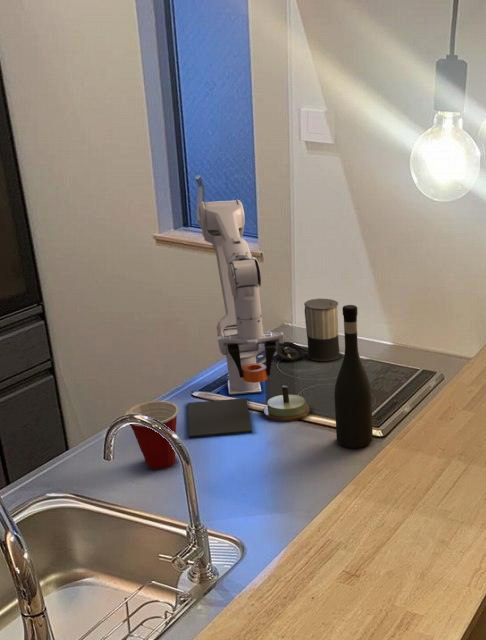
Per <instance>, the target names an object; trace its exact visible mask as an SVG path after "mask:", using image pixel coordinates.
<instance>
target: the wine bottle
mask: <svg viewBox="0 0 486 640" xmlns="http://www.w3.org/2000/svg"><path fill="white" fill-rule="evenodd" d="M358 314H359V313H358V307H357V306H356V305H354V304H345V305H343V306H342V316H343V329H344V330H343V331H344V332H343V333H344V356H343V359H342V363H341V366H340V369H339V371H338V374H337V377H336V381H335V386H334V393H333V394H334V414H335V415H334V416H335V432H336V433H335V434H336V435H335V436H336V441H337V442H338V444H339V445H341V446H343V447H346V448H351V449H352V448H353V449H354V448H355V449H356V448H362V447H365V446H368V445H369V444H370V443H371V442H372V441H373V436H374V434H373V433H374V432H373V431H374V430H373V429H374V428H373V396H372V395H373V392H372V386H371V382H370V379H369V376H368V374H367V371H366V370H365V367H364V365H363V362H362V359H361V357H360V352H359V346H358Z"/></svg>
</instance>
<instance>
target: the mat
mask: <svg viewBox="0 0 486 640" xmlns="http://www.w3.org/2000/svg"><path fill="white" fill-rule="evenodd" d="M187 410H188V411H187V415H188V417H187V418H188V438H189V439H196V438H208V437H218V436H231V435H242V434H243V435H244V434H251V433H253V429H252V424H251V418H250V417H251V416H250V412H249V404H248V400H247V397H243V398H231V399H217V400H206V401H205V400H204V401H194V402H193V401H191V402H187Z"/></svg>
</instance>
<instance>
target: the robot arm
mask: <svg viewBox="0 0 486 640" xmlns="http://www.w3.org/2000/svg"><path fill="white" fill-rule="evenodd" d="M198 216H199V222H200V227H201V233H202V236H203V240H204V241H205V242H206V243H207V242H208V243H209V244H211V245H212V247H213V249H214V252H215V257H216V263H217V268H218V275H219V280H220V288H221V292H222V299H223V305H224V310H225V315H223V317H221V319H219V320H218V322H217V325H216V331H217V334H216V335H217V343H218V348H219V351H220V353H221V354H222V355H223V356H225V358H226V366H227V374H228V380H227V388H228V395H243V394H245V395H246V394H257V393H262V387H261V382H256V383H251V382H246V381H244V380H243V372H242V367H243V366H245V365H247V364H254V363H255V364H256V363H257V356H258V352H260V351H261V349H262V345H263V347H264V354H265V356H264V357H265V365H266V367H267V376H271V370H272V369H271V367H272V363H273V359H274V357H275V354H276V353H277V347H278V346H277V343H278V344H281V343H284V342H285V339H284V338H285V337H284V333H283V332H281V331H279V332H276V331H275V332H274V331H273V332H272V331H264V325H263V317H262V307H261V293H260V287H261V285H262V272H261V267H260V264H259V261H258V259H257V258H256V257H255V256H253V255H252V252H251V250H250V247H249V243H248V242H247V240H245V238H243V235H244V230H245V224H246V219H245V211H244V206H243V202H242V201H241V200H239V199H235V200H234V199H233V200H219V201H200V202H199V204H198Z"/></svg>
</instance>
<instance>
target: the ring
mask: <svg viewBox="0 0 486 640" xmlns="http://www.w3.org/2000/svg"><path fill="white" fill-rule="evenodd" d="M242 372H243V380H244V381H246V382H251V383H256V382H260V383H262V382H265V381H266V380H268V375H267V367H266V364H264V363H257V362H256V364H255V363H254V364H247V365H245V366H243V367H242Z"/></svg>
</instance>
